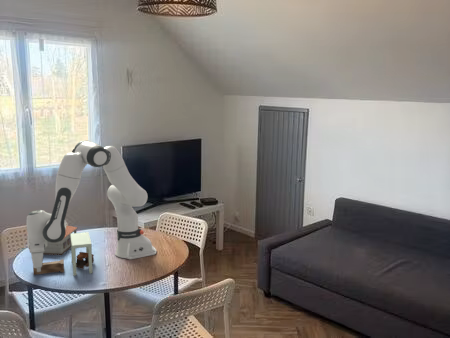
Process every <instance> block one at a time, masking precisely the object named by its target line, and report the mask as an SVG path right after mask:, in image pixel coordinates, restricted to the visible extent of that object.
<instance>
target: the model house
mask: <svg viewBox="0 0 450 338" xmlns="http://www.w3.org/2000/svg"><path fill="white" fill-rule="evenodd" d="M78 229H79V227H77V226H72V225H66V234H65V237H64V238H63V239H62V240H61V241H59V242H56V243H52V242H48V241H47V246H46V248H45V250H44V252H43V256H63V255H64V254H65V253H67V252H68V250H71V235H70V234H73V233H78V231H77V230H78Z"/></svg>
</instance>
